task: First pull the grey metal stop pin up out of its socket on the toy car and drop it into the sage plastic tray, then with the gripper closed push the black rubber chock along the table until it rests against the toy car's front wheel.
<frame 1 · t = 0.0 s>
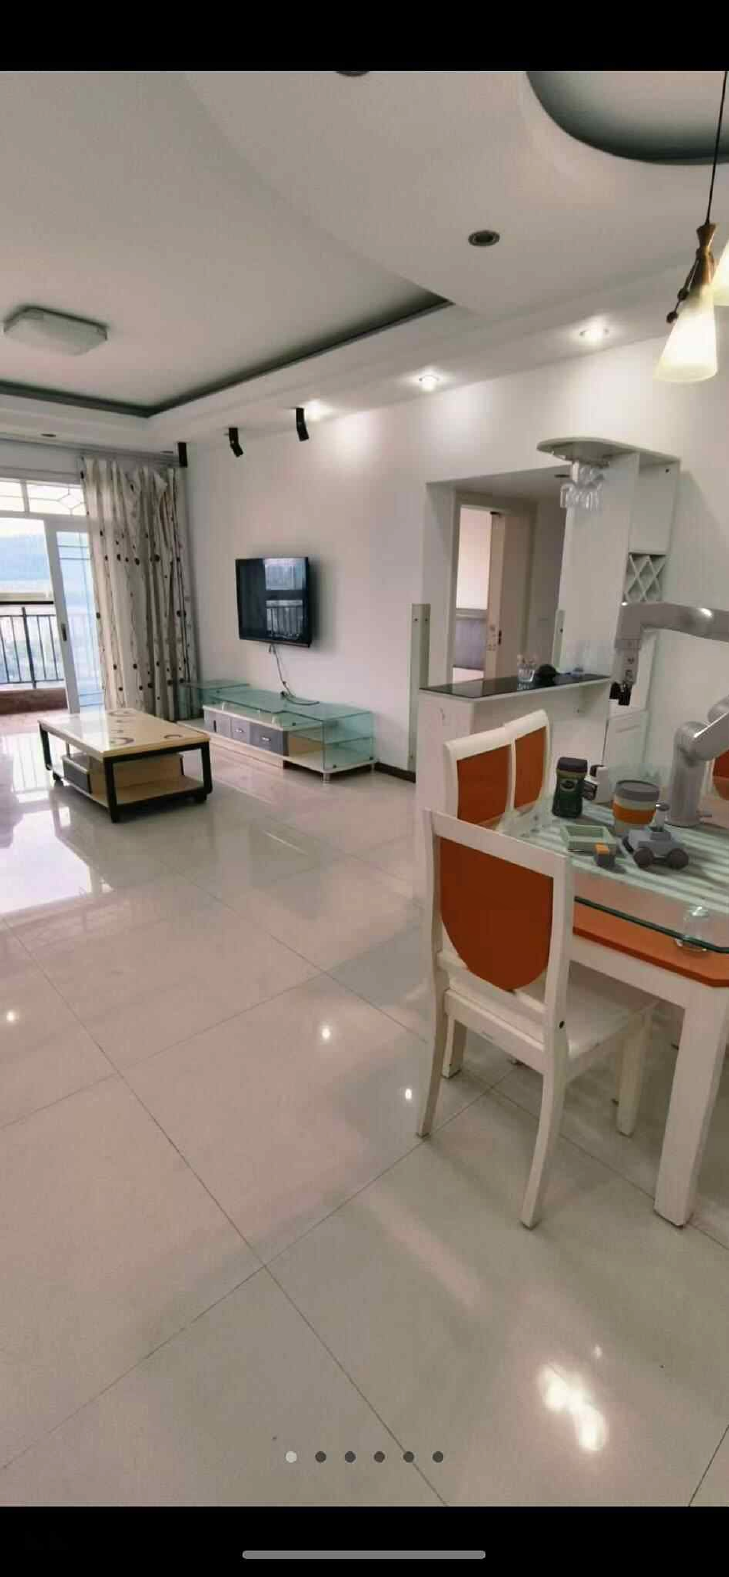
hand: (618, 702, 201), 37 cm above the table, tool pointing down, fingers open, 9 cm apart
reusable coffee cup: (629, 833, 199), on the table
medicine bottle: (594, 800, 227), on the table
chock: (603, 863, 178), on the table
tray: (586, 843, 190), on the table
toy car: (652, 858, 182), on the table
pin: (656, 836, 180), point 6 cm above the table, touching toy car
coffee jar: (565, 814, 213), on the table
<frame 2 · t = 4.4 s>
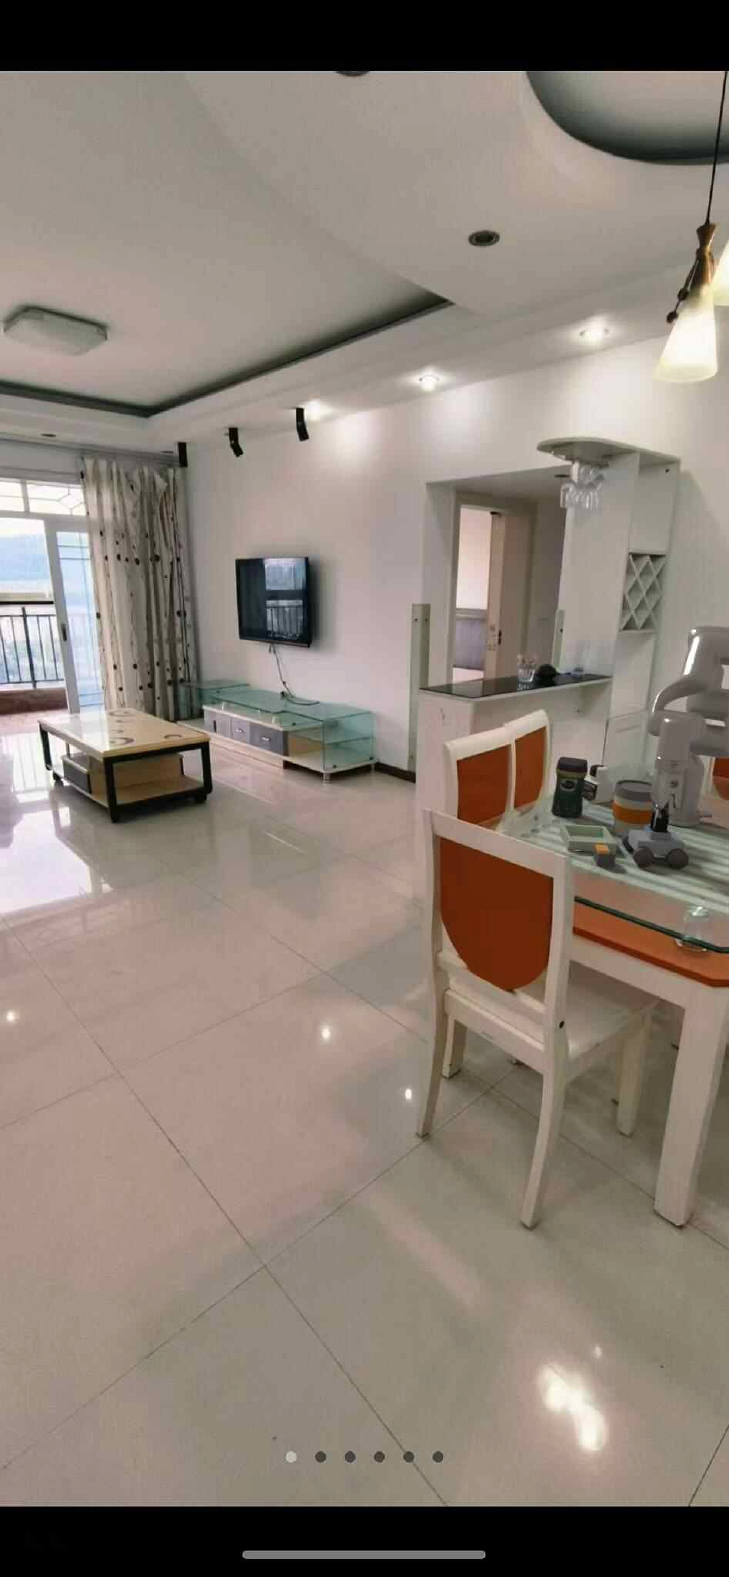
hand: (658, 828, 179), 9 cm above the table, tool pointing down, fingers closed on pin, 2 cm apart
pin: (656, 836, 180), point 6 cm above the table, touching gripper, toy car
everything else where it was.
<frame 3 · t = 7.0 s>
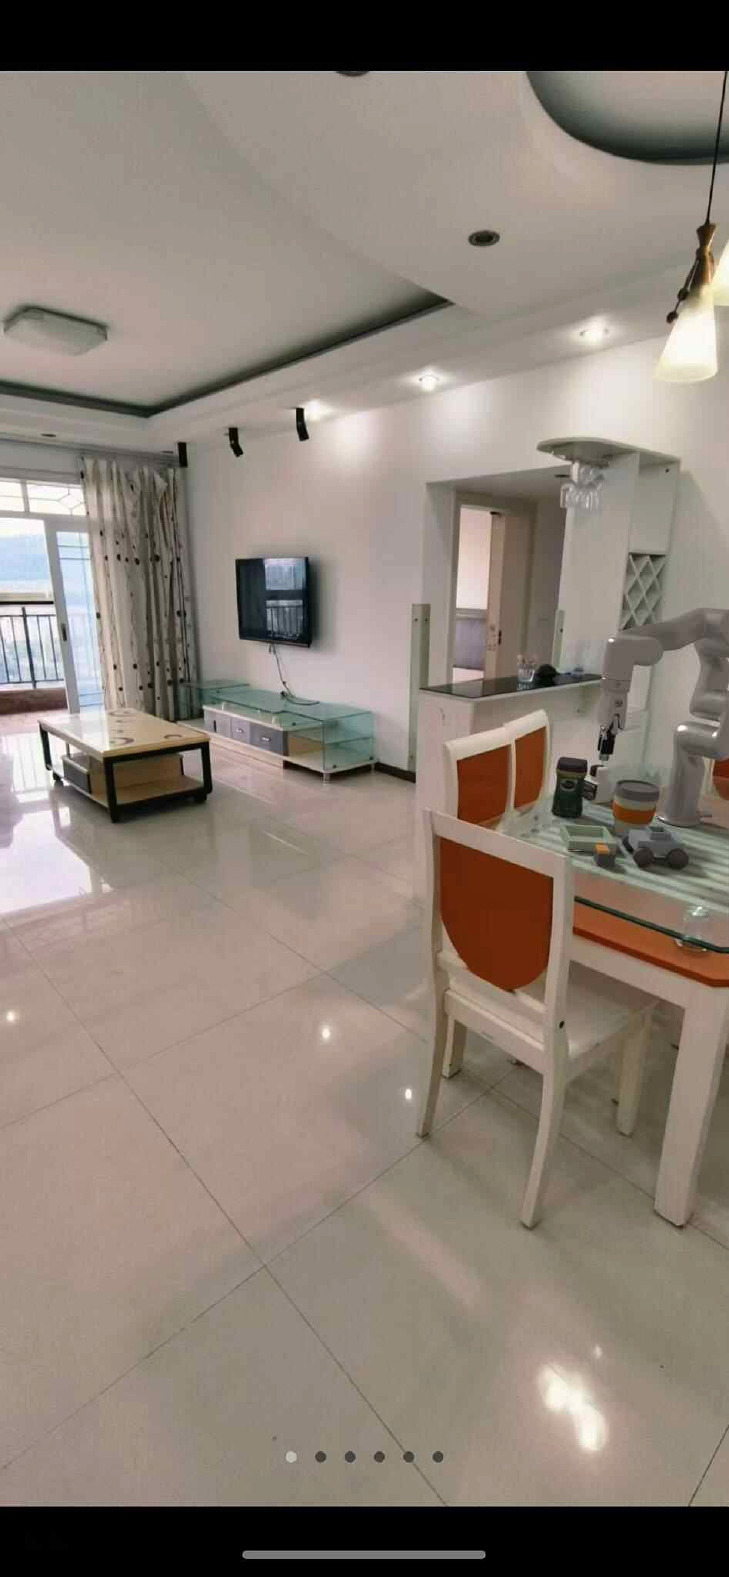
hand: (604, 751, 181), 27 cm above the table, tool pointing down, fingers closed on pin, 2 cm apart
pin: (603, 759, 182), point 25 cm above the table, touching gripper
everything else where it was.
when the fingers open (5 cm above the table, at t = 10.0 s): pin drops 2 cm, resting on tray.
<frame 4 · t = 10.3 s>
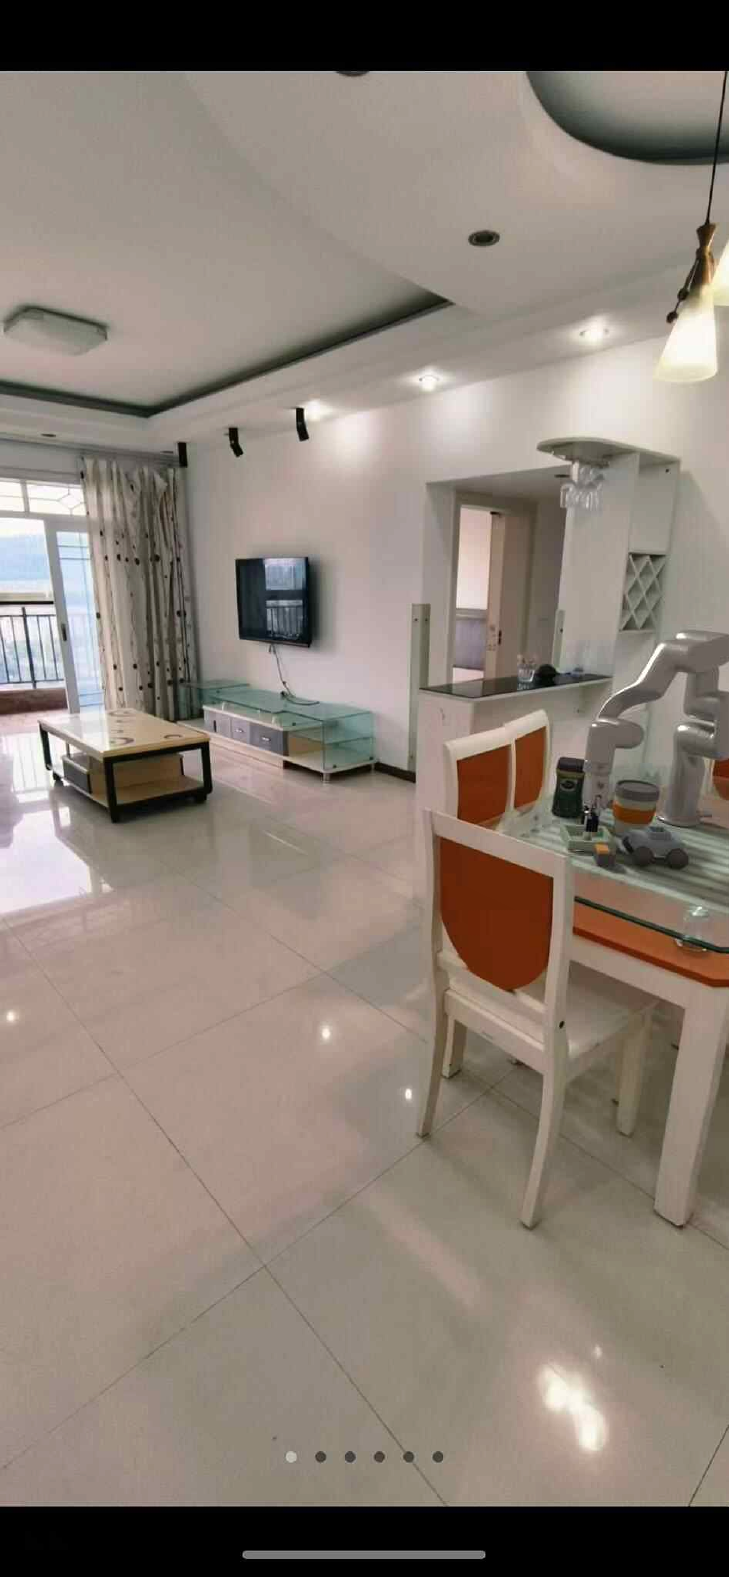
hand: (588, 827, 189), 5 cm above the table, tool pointing down, fingers open, 5 cm apart
pin: (586, 840, 190), point 1 cm above the table, touching tray
everything else where it was.
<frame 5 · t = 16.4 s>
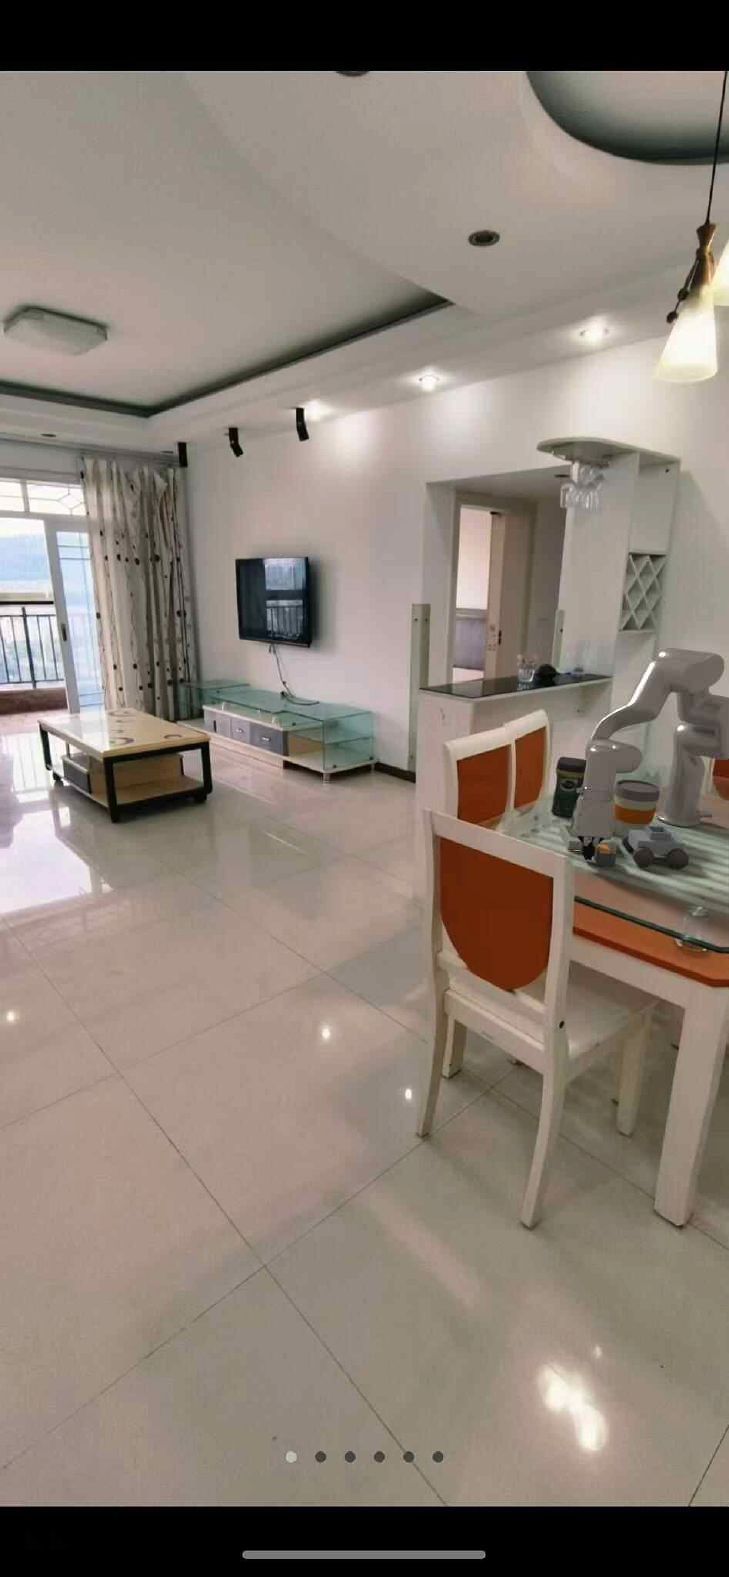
hand: (587, 858, 178), 1 cm above the table, tool pointing down, fingers closed
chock: (603, 862, 178), on the table, touching gripper
everything else where it was.
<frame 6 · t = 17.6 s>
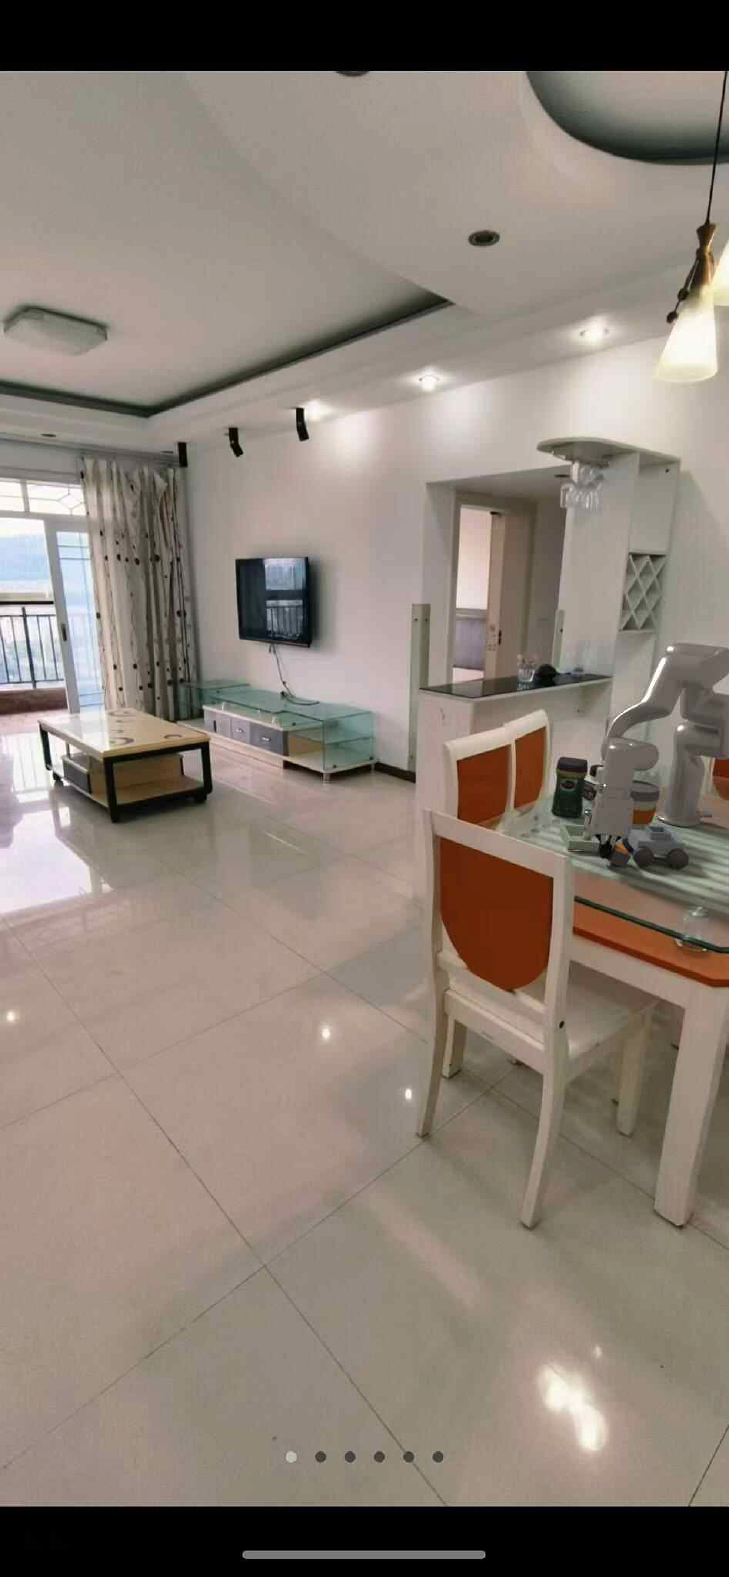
hand: (603, 856, 176), 2 cm above the table, tool pointing down, fingers closed
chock: (614, 861, 177), point 1 cm above the table, tilted 21°, touching gripper
everything else where it was.
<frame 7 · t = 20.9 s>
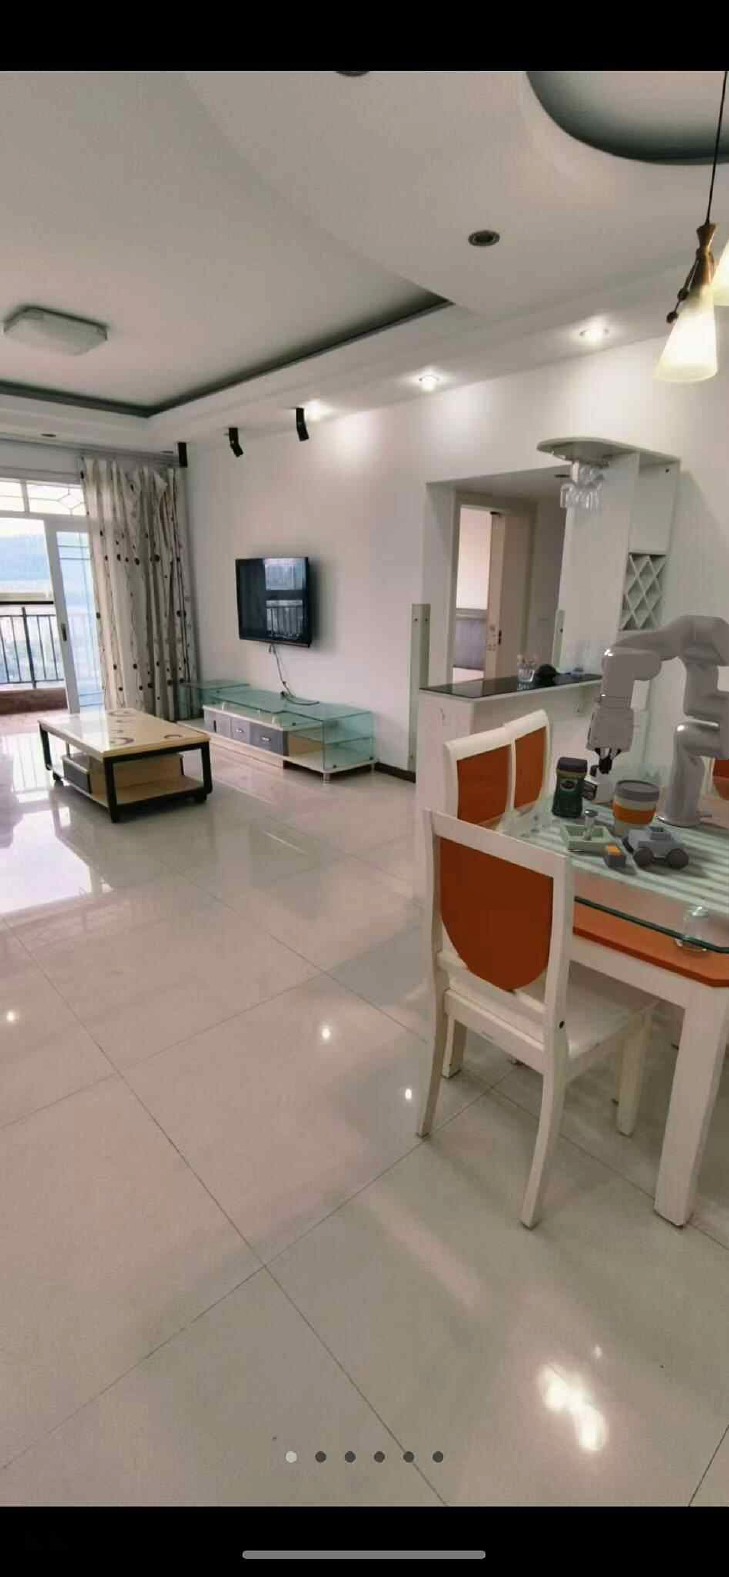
hand: (603, 772, 170), 25 cm above the table, tool pointing down, fingers closed
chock: (613, 864, 177), on the table
everything else where it was.
at the end: pin inside the target area on the tray (0.2 cm from its centre), point 0.6 cm above the tray's base; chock 1.3 cm from the target spot on the table beside the toy car, on the table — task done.
